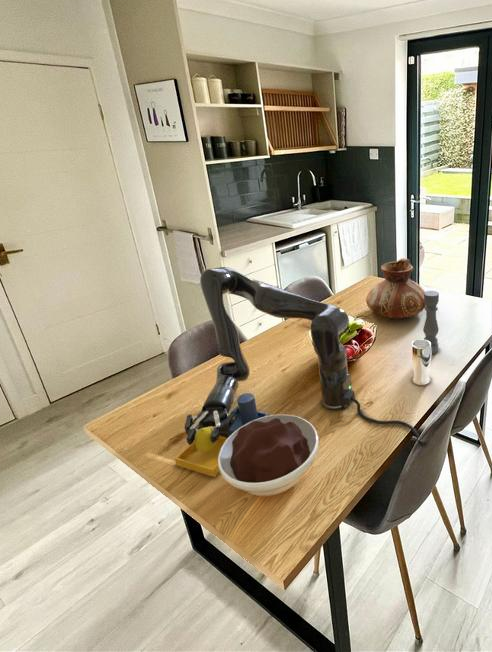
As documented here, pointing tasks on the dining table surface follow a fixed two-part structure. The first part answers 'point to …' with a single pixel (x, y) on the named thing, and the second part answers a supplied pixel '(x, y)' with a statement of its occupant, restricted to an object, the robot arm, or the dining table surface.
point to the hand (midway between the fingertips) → (201, 441)
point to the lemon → (204, 440)
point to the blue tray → (238, 421)
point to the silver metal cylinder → (421, 361)
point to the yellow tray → (201, 458)
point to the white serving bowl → (268, 454)
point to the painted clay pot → (396, 292)
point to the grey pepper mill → (431, 319)
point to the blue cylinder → (247, 408)
